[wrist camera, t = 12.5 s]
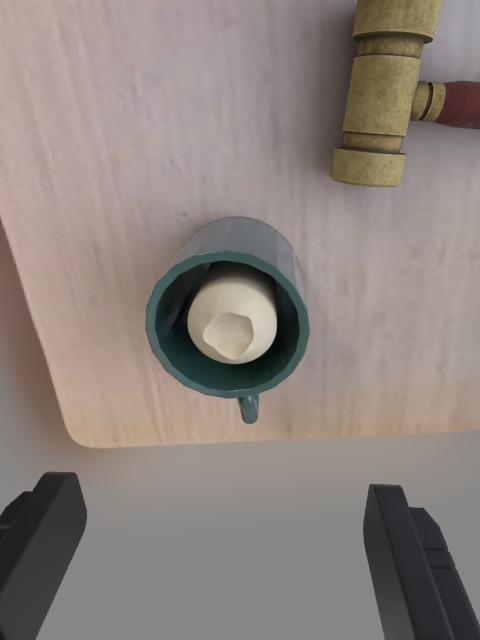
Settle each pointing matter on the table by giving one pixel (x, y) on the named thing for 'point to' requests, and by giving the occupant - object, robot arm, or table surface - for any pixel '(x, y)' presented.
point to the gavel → (394, 91)
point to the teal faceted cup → (179, 293)
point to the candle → (234, 313)
